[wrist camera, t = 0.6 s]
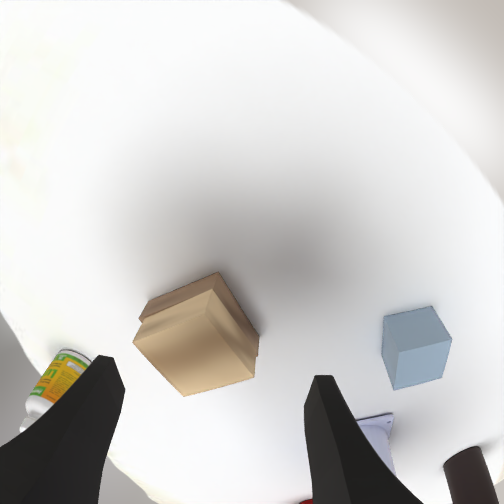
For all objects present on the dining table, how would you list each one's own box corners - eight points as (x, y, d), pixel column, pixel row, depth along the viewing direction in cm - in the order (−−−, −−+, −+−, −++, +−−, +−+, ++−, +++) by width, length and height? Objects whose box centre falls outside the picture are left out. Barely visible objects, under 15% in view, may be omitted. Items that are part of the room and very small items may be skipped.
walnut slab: (259, 332, 23) (257, 356, 21) (192, 354, 25) (186, 376, 22) (219, 268, 21) (213, 289, 19) (150, 298, 23) (138, 318, 20)
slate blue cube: (425, 343, 23) (441, 377, 19) (381, 353, 23) (393, 390, 20) (431, 305, 21) (452, 339, 17) (383, 315, 22) (399, 352, 18)
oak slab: (256, 350, 21) (254, 377, 18) (190, 371, 22) (183, 396, 20) (212, 288, 19) (204, 313, 17) (144, 318, 20) (132, 342, 18)
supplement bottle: (66, 340, 25) (16, 415, 16) (111, 374, 26) (72, 455, 18) (51, 362, 27) (9, 428, 18) (91, 392, 28) (57, 463, 20)
